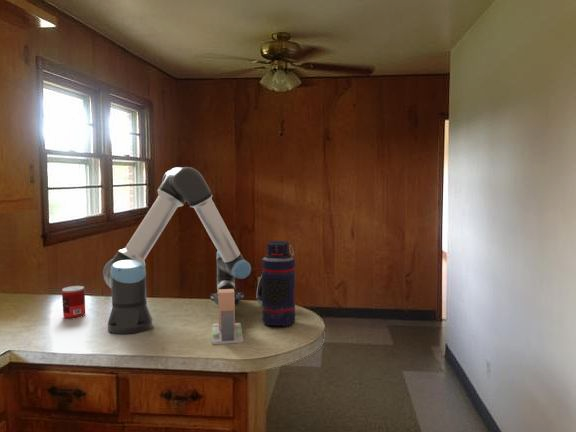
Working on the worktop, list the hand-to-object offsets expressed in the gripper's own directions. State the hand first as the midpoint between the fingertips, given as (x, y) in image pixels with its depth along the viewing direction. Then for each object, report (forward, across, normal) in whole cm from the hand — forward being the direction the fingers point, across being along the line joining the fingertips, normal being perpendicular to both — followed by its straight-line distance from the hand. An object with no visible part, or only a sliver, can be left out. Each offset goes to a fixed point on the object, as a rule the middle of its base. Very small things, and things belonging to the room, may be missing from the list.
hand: (228, 307), depth 166 cm
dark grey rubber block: (+15, +1, -7) cm, 17 cm away
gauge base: (+9, +1, -7) cm, 12 cm away
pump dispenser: (-23, -17, -7) cm, 30 cm away
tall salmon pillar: (+4, +1, -6) cm, 7 cm away
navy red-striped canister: (-1, -18, -7) cm, 20 cm away
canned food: (-24, +59, -7) cm, 64 cm away
